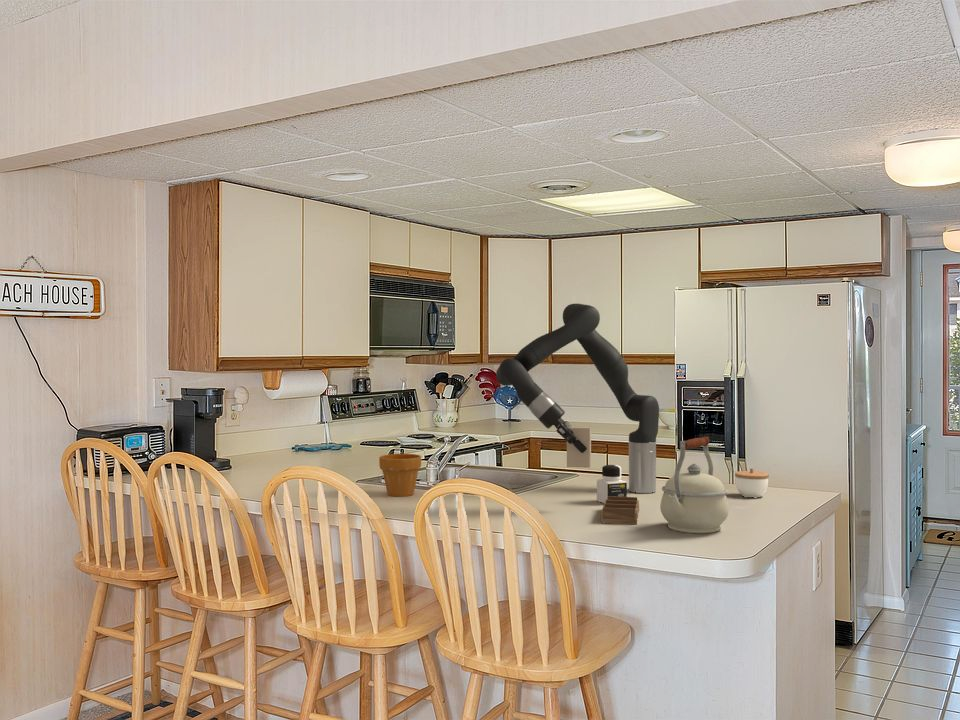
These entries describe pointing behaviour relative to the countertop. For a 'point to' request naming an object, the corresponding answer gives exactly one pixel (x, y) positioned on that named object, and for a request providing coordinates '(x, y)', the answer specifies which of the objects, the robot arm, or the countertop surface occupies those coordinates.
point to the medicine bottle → (611, 483)
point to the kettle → (694, 495)
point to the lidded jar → (751, 483)
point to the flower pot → (400, 473)
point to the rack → (620, 510)
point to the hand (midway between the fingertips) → (585, 449)
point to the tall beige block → (574, 454)
